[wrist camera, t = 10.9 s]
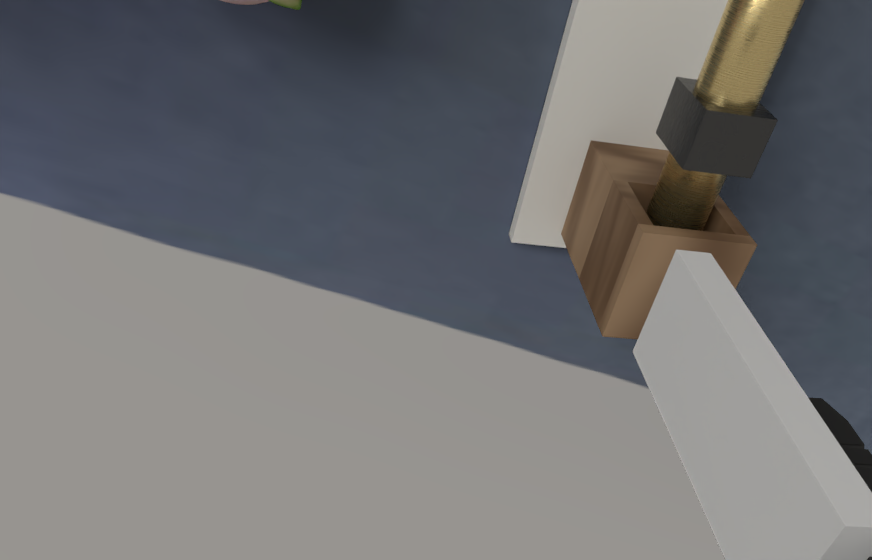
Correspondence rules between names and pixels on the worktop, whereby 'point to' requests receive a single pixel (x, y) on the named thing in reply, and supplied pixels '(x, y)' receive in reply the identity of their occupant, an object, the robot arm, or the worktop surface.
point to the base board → (607, 95)
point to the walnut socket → (636, 236)
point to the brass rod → (720, 112)
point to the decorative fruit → (284, 0)
